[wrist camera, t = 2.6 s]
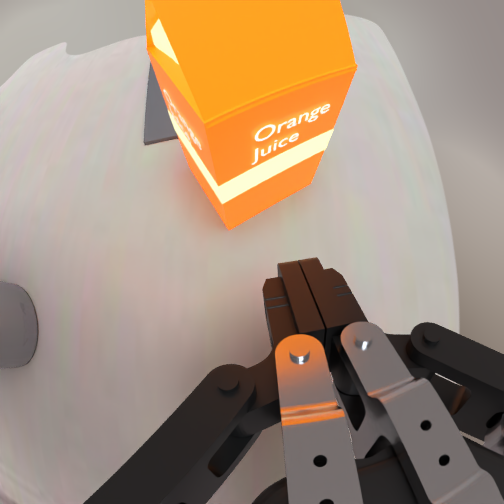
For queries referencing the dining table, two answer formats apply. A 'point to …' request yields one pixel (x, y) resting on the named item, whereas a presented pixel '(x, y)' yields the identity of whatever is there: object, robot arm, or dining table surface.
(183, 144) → the orange juice
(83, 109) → the dining table surface
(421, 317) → the dining table surface
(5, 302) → the robot arm
